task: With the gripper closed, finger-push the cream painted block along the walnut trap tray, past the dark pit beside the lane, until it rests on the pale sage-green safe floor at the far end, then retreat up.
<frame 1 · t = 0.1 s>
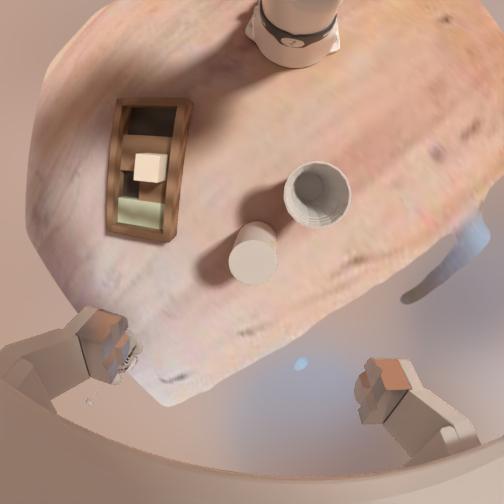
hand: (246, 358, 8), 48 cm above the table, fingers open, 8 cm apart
plastic cup: (308, 185, 53), on the table
beige cylinder: (256, 240, 58), on the table
block: (156, 165, 51), point 2 cm above the table, touching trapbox
french press: (130, 341, 71), on the table
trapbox: (149, 166, 53), on the table
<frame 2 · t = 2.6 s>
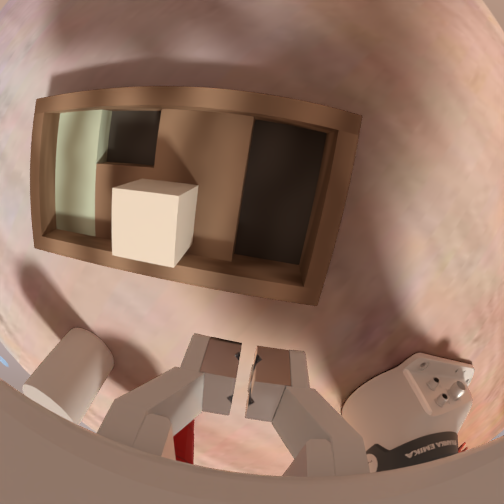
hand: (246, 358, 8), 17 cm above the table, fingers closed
plastic cup: (176, 409, 36), on the table
beige cylinder: (90, 350, 33), on the table
block: (166, 210, 23), point 2 cm above the table, touching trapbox
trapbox: (171, 178, 23), on the table
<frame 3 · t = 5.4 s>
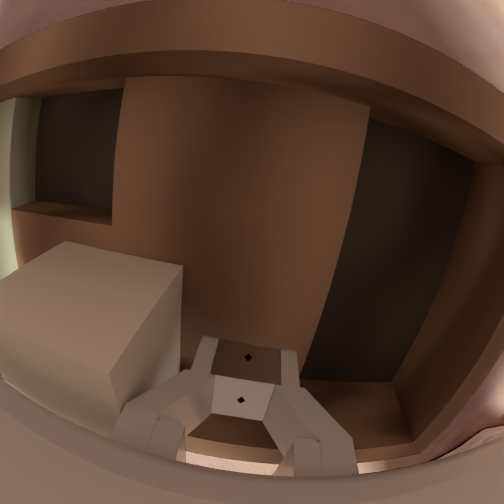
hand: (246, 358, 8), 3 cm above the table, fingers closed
block: (120, 311, 10), point 2 cm above the table, touching gripper
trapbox: (157, 239, 11), on the table
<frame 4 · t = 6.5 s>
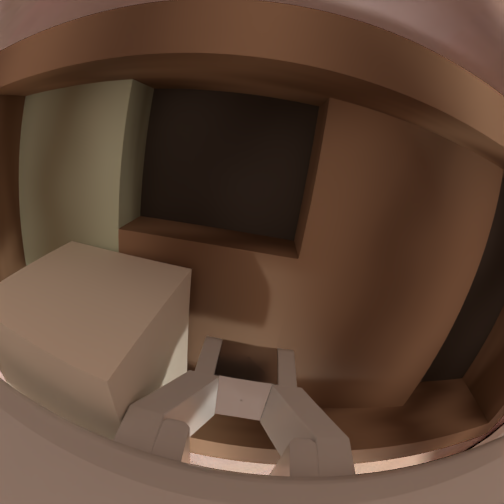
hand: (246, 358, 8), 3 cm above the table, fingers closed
block: (127, 314, 10), point 2 cm above the table, touching gripper, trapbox
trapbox: (312, 267, 11), on the table
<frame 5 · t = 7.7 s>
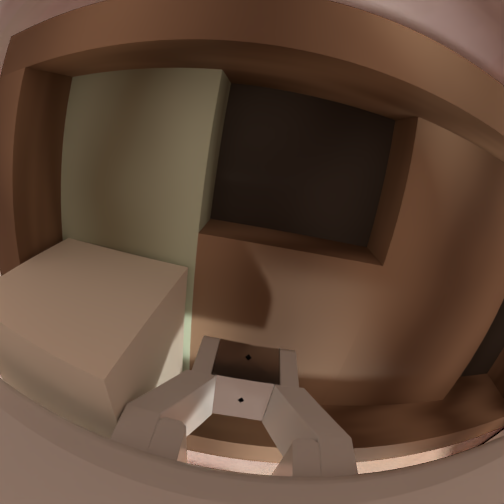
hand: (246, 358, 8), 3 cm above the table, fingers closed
block: (123, 312, 10), point 2 cm above the table, touching gripper, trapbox
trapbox: (379, 272, 11), on the table
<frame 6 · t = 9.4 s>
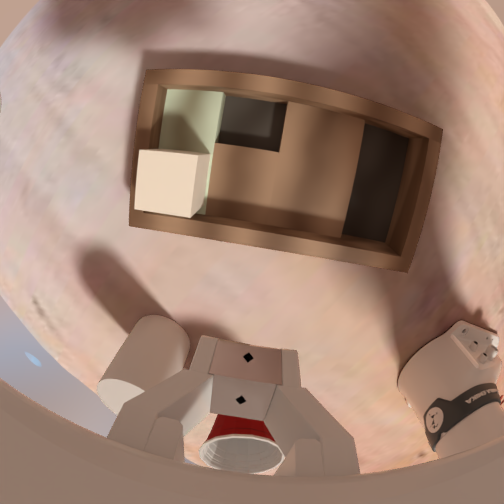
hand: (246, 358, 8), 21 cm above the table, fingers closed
plastic cup: (247, 393, 38), on the table
beige cylinder: (162, 338, 36), on the table
block: (181, 176, 26), point 2 cm above the table, touching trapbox
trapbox: (286, 163, 27), on the table
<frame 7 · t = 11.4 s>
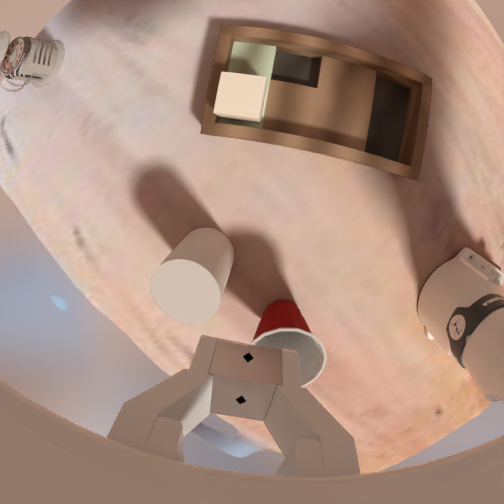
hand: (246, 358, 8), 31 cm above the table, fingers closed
plastic cup: (282, 313, 44), on the table
beige cylinder: (207, 253, 41), on the table
block: (244, 101, 31), point 2 cm above the table, touching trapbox
french press: (47, 66, 31), on the table
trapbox: (321, 99, 32), on the table
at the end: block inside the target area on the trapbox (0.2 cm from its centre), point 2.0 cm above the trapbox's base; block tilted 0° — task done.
